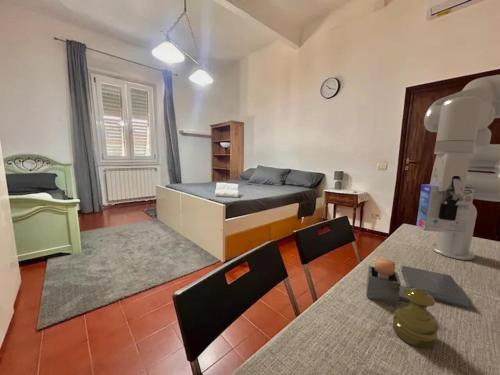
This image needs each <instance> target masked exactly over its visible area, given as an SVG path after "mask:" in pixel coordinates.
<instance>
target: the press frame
mask: <svg viewBox="0 0 500 375" xmlns="http://www.w3.org/2000/svg"><path fill="white" fill-rule="evenodd" d="M374 268H375V266H373V265H369V266H368V270H367V278H366V285H365V287H366V288H365V289H366V297H367V299H369V300H373V301H377V302H380V303H384V304H388V305H390V306H395V307H396V306H398V305H399V301H400V302H406V303H410V300H409V299H408V298H407V297H406V296H405V294H404V292H405V290H406V289H409V288H415V289H421V290H423V291H425V292H426V293H428V294H429V295H431V296H432V297H433V298H434V300H435V301H436V302H437V301H438V302H442V303H445V304H450V305H454V306H458V307H461V308H466V309H468V308H469V304H470V300H469V298H468V297H467V295H466V294H465V293H464V291H462V289H461V287H460V286H459V285H458V283H457V282H456V281H455V280H454V278H453V277H452V276H451V275H450V274H446V273H441V272H436V271H430V270H427V269H426V270H425V269H421V268H417V267H416V268H415V267H412V266H411V267H410V266H407V265H402V266H401V275H402V277H403V281H404V282H405V285H401V280H400V277H399V274H398V272H397V271H395V270H394V274H393V275H389V279H388V280H386V279H382V278H378V272H377V271H376V270H375V269H374Z"/></svg>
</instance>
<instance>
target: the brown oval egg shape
mask: <svg viewBox="0 0 500 375" xmlns="http://www.w3.org/2000/svg"><path fill="white" fill-rule="evenodd" d="M374 262H375V263H374V267H375V268H374V269H375V270H376V271H377V272H378V278H382V279H386V280H388V279H389V275H393V274H394V271H395V268H396V263H395V262H394V261H393V260H391V259H389V258H384V257H377V258H375V260H374Z"/></svg>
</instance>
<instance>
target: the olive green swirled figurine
mask: <svg viewBox="0 0 500 375" xmlns="http://www.w3.org/2000/svg"><path fill="white" fill-rule="evenodd" d="M404 294H405V296H406V297H407V298H408V299H409V300H410V303H409V302H406V303H400V304H398V305H397V306H395V307H394V310H393V311H394V315H393V317H392V321H393V322H392V329H393V331H394V333H395V334H396V336H397V337H399V338H400V339H401V340H403V341H404V342H406V343H407V344H409V345H411V346H413V347H416V348H418V349H423V350H429V349H433V348H435V346H436V344H437V338H438V336H439V335H438V331H439V329H440V323H439V322H438V320H437V318H436V317H435V316H434V315H433V314H432V313H431V312H430V311H429V310H428V309H427V308H428V307H432V306H435V304H436V300H434V298H433V297H432V296H431V295H429V294H428V293H426V292H425V291H423V290H421V289H415V288H409V289H406V290H405V292H404Z"/></svg>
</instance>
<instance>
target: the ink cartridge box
mask: <svg viewBox="0 0 500 375" xmlns="http://www.w3.org/2000/svg"><path fill="white" fill-rule="evenodd" d="M420 187H421V188H420V196H419V204H418V212H417V217H416V218H417V219H416V226H417V227H419V228H420V229H421V230H423V231H425V232H426V231H427V232H436V233H439V232H448V233H460V234H467V231H468V225H469V219H470V213H471V207H472V204H473V200H474V199H473V196H474V191H475V188H471V187H467V186H465V189H464V192H463V193H462V194H461V196H460V198H459V204H458V208H457V214H456V219H455V221H451V220H443V219H440V218H439V213H440V207H441V204H443V193H444V191H442V192H441V193H439V192H438V191H437V189H438V186H436V185H431V184H430V183H429V184H428V183H427V184H425V183H424V184H421V186H420ZM447 192H453V191H449V190H447ZM448 196H449V195H447V198H448Z"/></svg>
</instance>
